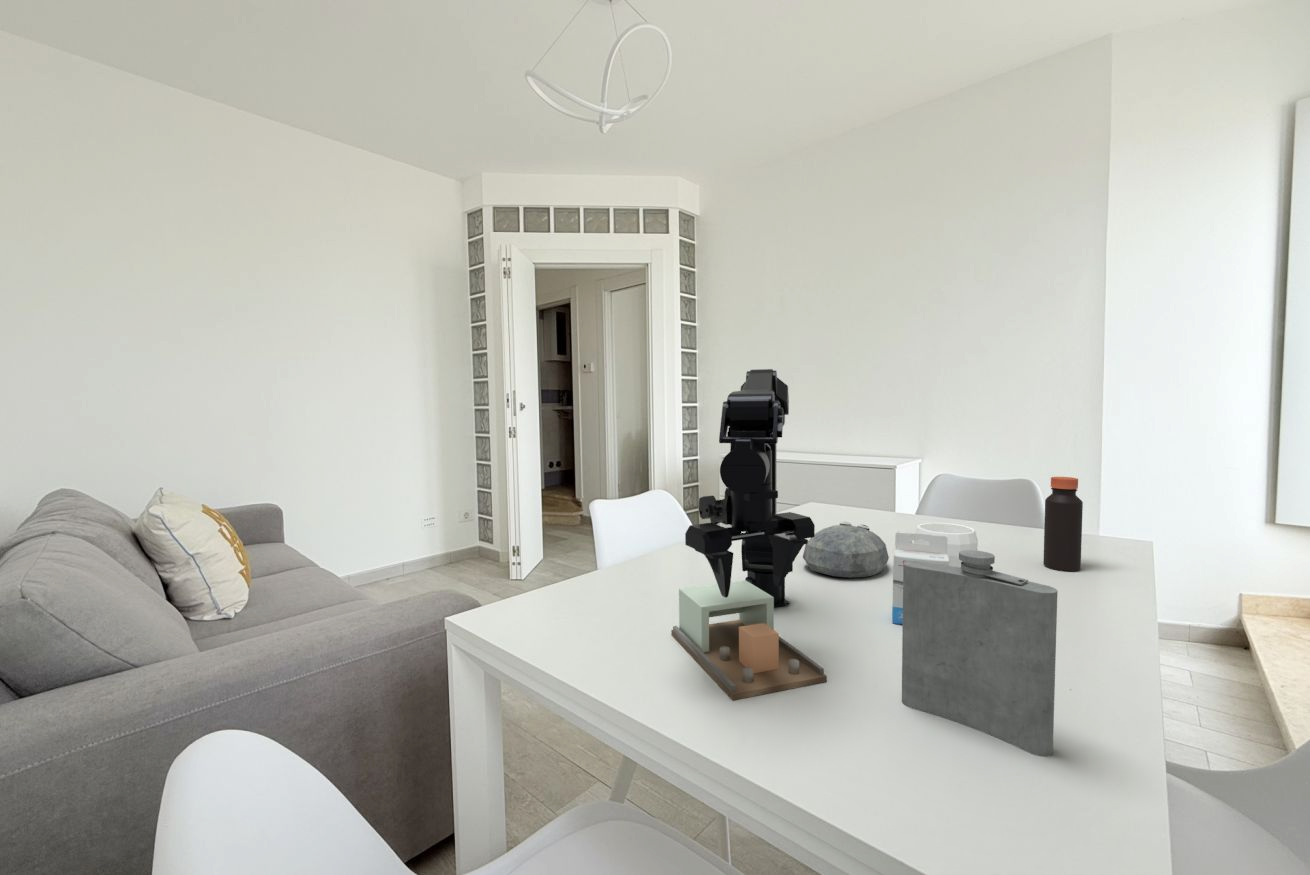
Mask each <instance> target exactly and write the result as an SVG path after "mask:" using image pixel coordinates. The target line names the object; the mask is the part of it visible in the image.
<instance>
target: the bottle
mask: <svg viewBox="0 0 1310 875" xmlns="http://www.w3.org/2000/svg"><path fill="white" fill-rule="evenodd" d="M1078 489H1079V478H1077V477H1071V476H1052V477H1050V490H1051V493H1050V495H1048V496H1047V497H1046V498H1045V500H1044V530H1043V531H1044V532H1043V533H1044V536H1043V561H1042V562H1043V566H1044V567H1045V568H1048V567H1049V568H1048V569H1051V568H1052V569H1051V570H1055V569H1056V570H1055V571H1060V570H1063V571H1062V572H1078V571H1080V570H1081V568H1082V536H1083V534H1082V533H1083V511H1084V510H1083V508H1084V506H1083V505H1084V502H1083V501H1082V499H1081V498H1079V496H1078V495H1077V492H1078Z"/></svg>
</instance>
